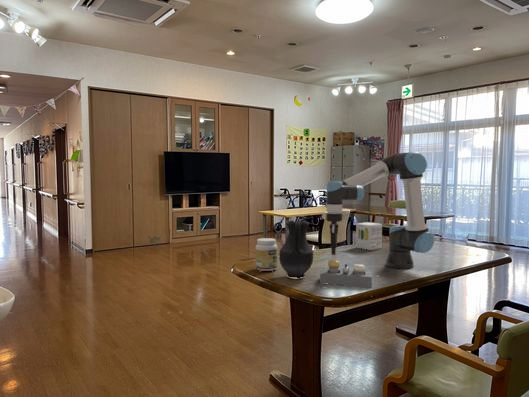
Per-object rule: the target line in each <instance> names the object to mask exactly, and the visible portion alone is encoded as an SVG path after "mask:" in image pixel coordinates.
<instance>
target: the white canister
mask: <svg viewBox="0 0 529 397" xmlns="http://www.w3.org/2000/svg"><path fill="white" fill-rule="evenodd" d="M355 226H356V228H355V248H356V247H357V249H361V248H362V250H366V249H367V250H366V251H373V250H378V249H379V248H380V249H382V246H383V243H382V242H383V240H382V239H383V223H378V222H377V223H376V222H368V221H367V222H359V223H356V224H355Z"/></svg>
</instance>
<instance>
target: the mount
mask: <svg viewBox="0 0 529 397" xmlns="http://www.w3.org/2000/svg"><path fill="white" fill-rule="evenodd" d="M372 272H373V271H372V270H367V269H366V270H365V271H364V275H358V274H354V271H353V269H349V274H343V268H338V273H329V267H328V268H327V267H322V269H321V272H320V274H319V275H320V276H319V284H320V283H328V284H338V285H337V286H342V285H346V286H345V287H360V288H372V287H373V286H372V285H373V284H372V282H373V275H372V274H373V273H372Z"/></svg>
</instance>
